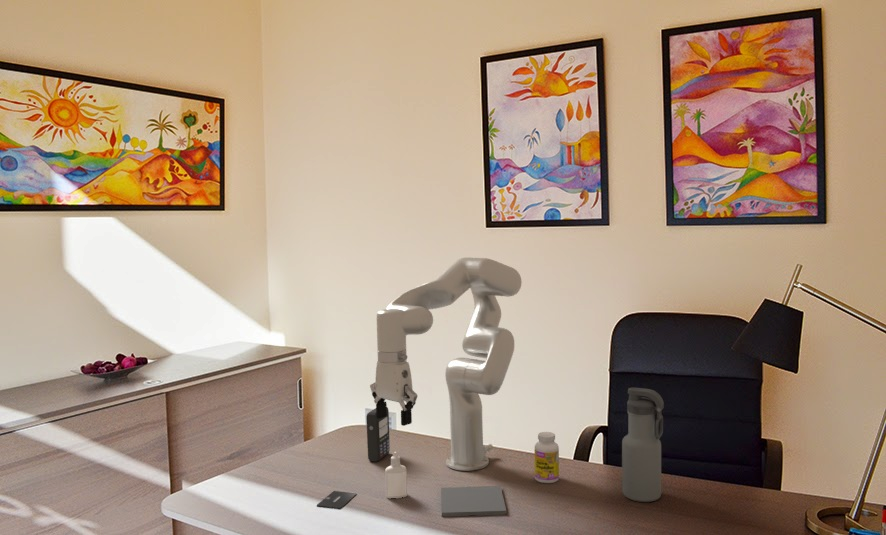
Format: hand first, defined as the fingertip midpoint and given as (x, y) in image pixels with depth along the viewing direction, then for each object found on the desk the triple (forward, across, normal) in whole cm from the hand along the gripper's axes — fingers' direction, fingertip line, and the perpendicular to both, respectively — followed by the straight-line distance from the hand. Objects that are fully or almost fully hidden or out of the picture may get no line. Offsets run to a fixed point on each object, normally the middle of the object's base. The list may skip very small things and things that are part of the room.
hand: (393, 420), depth 194 cm
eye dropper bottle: (+21, 0, 0) cm, 21 cm away
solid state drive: (+21, +10, +12) cm, 26 cm away
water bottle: (+20, -49, -42) cm, 68 cm away
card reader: (+20, +26, -17) cm, 37 cm away
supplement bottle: (+20, -23, -35) cm, 47 cm away
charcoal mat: (+20, -18, -10) cm, 29 cm away
